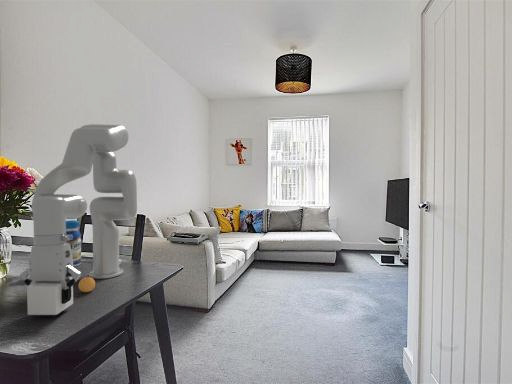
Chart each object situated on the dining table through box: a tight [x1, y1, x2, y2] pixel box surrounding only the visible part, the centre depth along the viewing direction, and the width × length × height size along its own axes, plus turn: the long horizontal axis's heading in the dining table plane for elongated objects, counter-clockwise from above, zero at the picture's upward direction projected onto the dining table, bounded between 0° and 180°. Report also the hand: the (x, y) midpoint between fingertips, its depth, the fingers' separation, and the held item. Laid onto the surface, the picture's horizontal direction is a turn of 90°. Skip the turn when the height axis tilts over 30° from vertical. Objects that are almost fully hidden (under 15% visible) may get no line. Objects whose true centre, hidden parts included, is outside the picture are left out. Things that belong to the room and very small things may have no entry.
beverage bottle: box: [66, 219, 82, 268], centre depth 138 cm, size 8×8×20 cm
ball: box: [77, 276, 96, 293], centre depth 104 cm, size 5×5×5 cm
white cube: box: [26, 276, 74, 316], centre depth 86 cm, size 8×8×8 cm
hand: (51, 301), depth 86 cm, fingers closed on white cube, 7 cm apart
